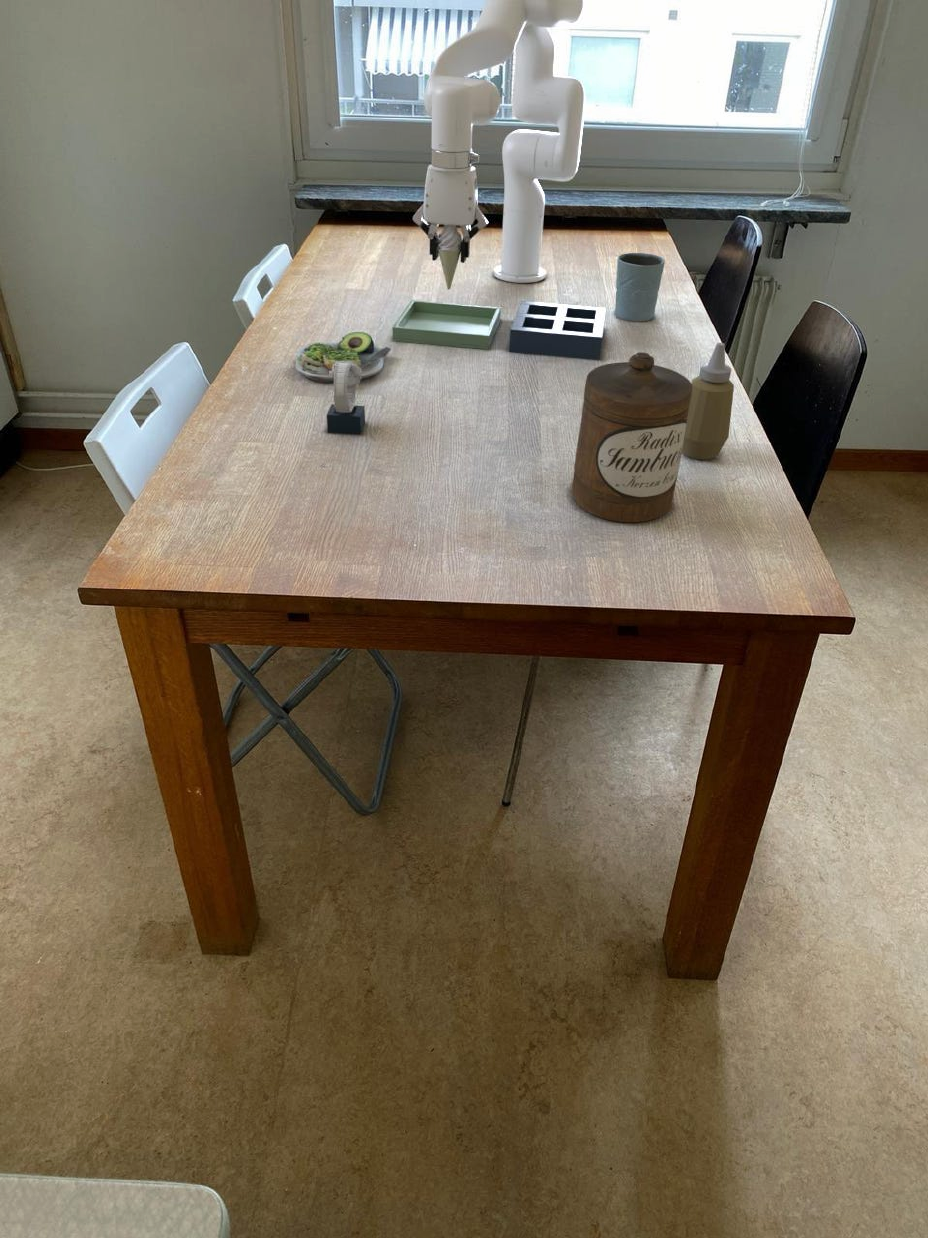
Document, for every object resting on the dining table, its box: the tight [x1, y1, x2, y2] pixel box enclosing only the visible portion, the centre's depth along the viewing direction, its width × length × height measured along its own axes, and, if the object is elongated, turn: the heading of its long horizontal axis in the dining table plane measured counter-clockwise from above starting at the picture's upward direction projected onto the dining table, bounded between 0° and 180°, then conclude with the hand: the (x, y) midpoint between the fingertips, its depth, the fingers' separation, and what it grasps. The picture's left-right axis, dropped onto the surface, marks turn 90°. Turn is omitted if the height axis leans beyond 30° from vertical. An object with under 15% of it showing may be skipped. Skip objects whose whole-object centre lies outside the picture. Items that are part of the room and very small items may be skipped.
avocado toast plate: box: [294, 331, 392, 384], centre depth 171 cm, size 19×18×5 cm
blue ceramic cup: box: [614, 252, 666, 323], centre depth 199 cm, size 10×10×12 cm
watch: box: [326, 361, 366, 435], centre depth 149 cm, size 6×8×11 cm
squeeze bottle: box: [682, 342, 735, 461], centre depth 144 cm, size 8×8×18 cm
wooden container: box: [571, 351, 692, 523], centre depth 130 cm, size 15×15×22 cm
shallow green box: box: [392, 299, 502, 350], centre depth 191 cm, size 18×20×3 cm
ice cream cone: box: [437, 224, 463, 290], centre depth 182 cm, size 5×5×15 cm
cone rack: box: [508, 300, 607, 361], centre depth 187 cm, size 18×18×4 cm
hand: (449, 258), depth 183 cm, fingers closed on ice cream cone, 5 cm apart
